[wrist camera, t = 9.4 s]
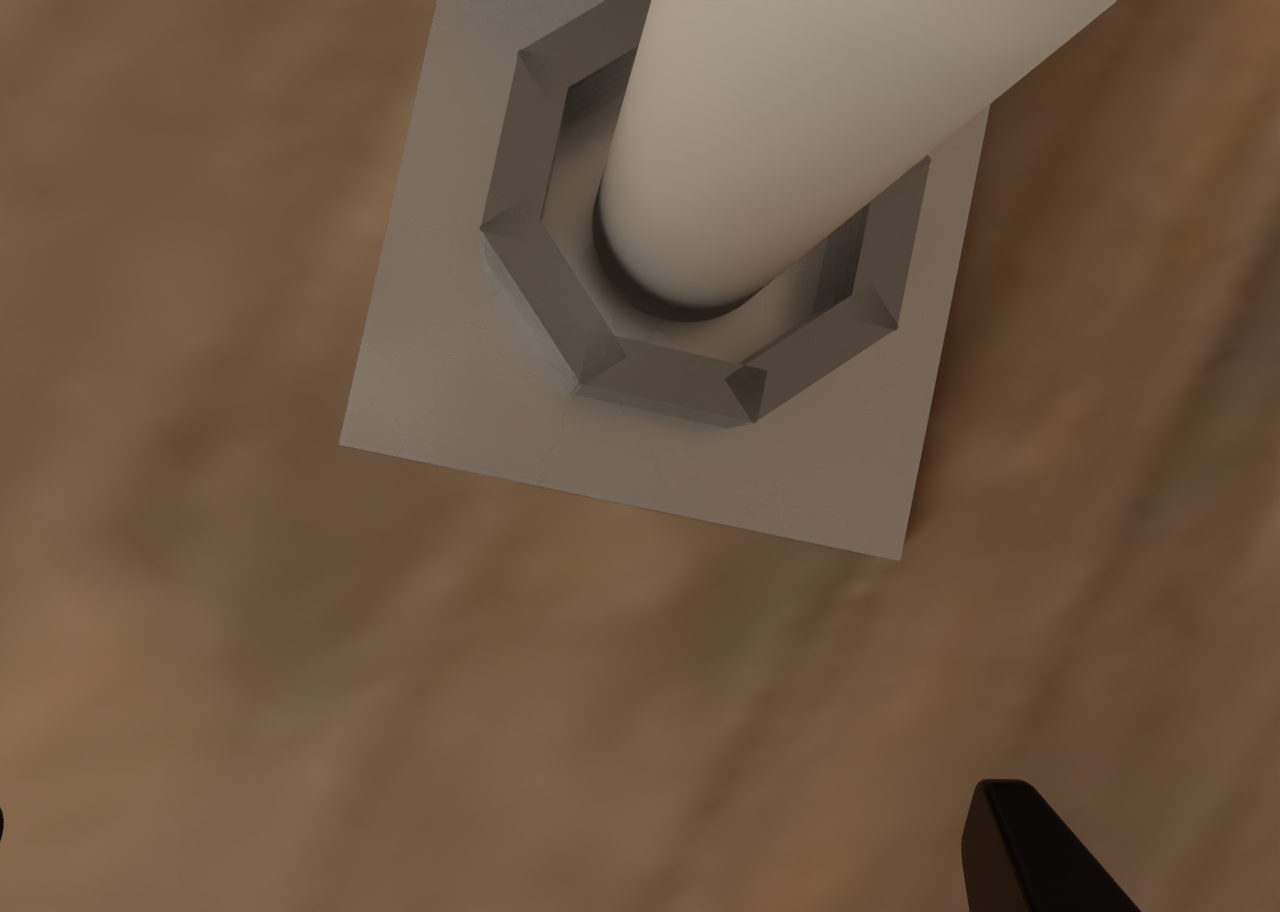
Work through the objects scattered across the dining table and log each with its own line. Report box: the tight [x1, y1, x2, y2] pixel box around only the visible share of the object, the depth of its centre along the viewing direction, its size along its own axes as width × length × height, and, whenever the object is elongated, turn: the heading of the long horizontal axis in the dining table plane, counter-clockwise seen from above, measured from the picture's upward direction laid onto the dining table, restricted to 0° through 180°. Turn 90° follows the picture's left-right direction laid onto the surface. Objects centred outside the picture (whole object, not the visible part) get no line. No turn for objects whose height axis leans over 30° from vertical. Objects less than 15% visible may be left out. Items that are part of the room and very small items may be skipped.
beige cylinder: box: [592, 0, 1117, 322], centre depth 15 cm, size 4×4×13 cm
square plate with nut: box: [339, 0, 990, 561], centre depth 20 cm, size 12×12×3 cm
